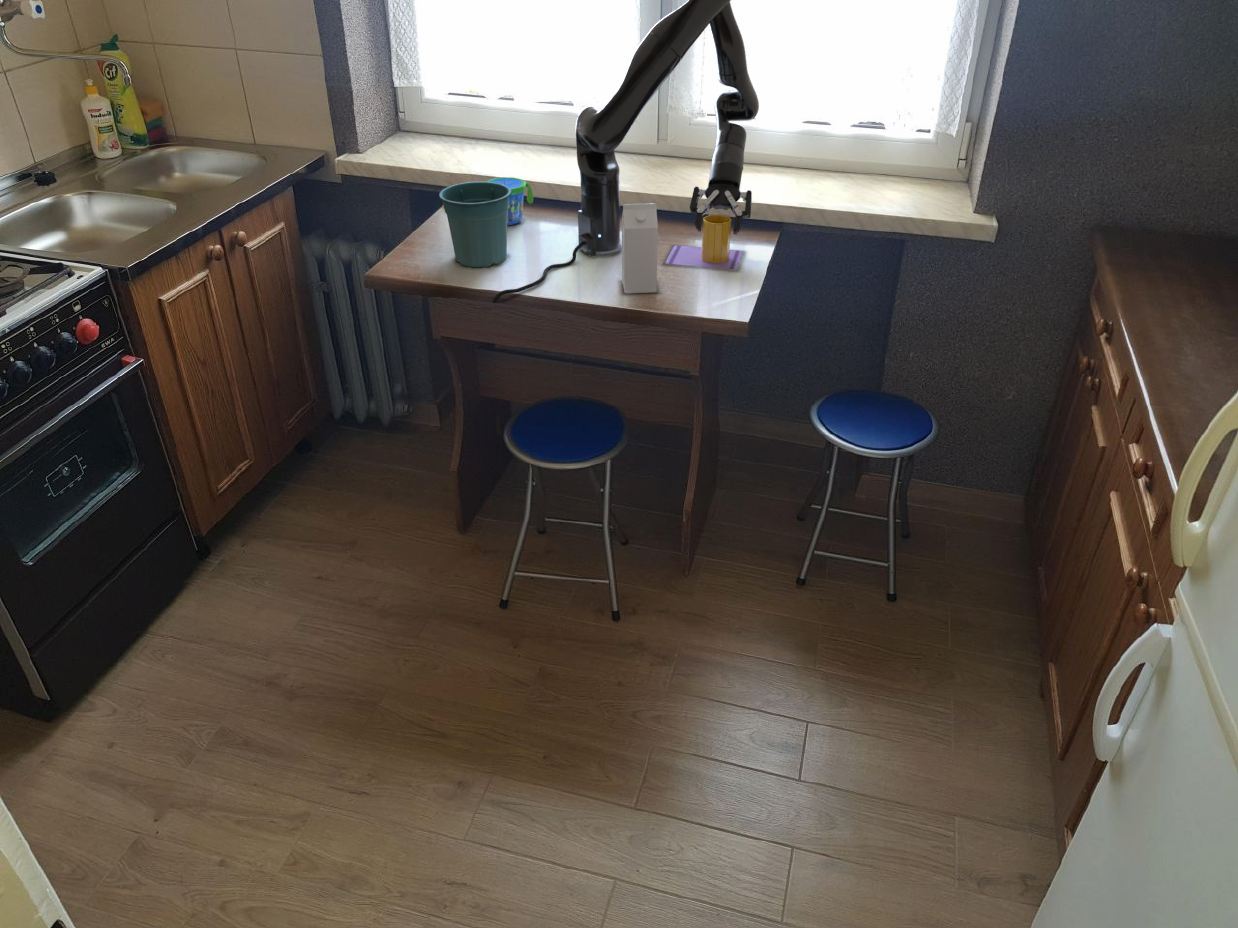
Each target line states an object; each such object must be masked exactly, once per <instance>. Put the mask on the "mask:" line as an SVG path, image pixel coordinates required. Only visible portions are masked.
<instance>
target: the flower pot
mask: <svg viewBox="0 0 1238 928" xmlns="http://www.w3.org/2000/svg"><path fill="white" fill-rule="evenodd" d="M510 193H511V189H510V188H509V187H508V186H506V185H504V184H500V183H495V182H486V181H466V182H460V183H456V184H452V185H450V186H449V185H448V186H447V187H445V188H443V189H442V190H441V191H439V193H438V197H439V199H440V200H441V201H442V204H443V205H442V207H443V209H444V213H445V214H446V217H447V223H448V227H449V233H450V237H451V242H452V245H453V246H452V247H453V252H454V256H455V261H456V262H458V263H460V265H462V266H465V267H469V268H470V267H471V268H484V267H490V266H491V265H493V264H495V265H498V264H500V263H503V262H504V261H505V260H506V259H507V256H508V225H507V210H508V208H509V195H510Z"/></svg>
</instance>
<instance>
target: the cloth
mask: <svg viewBox="0 0 1238 928" xmlns="http://www.w3.org/2000/svg"><path fill="white" fill-rule="evenodd" d="M701 253H702V246H701V247H699V246H689V245H676V244H674V245H673V247H672V249H671V251H670V253H669V255H668V257H667V258H666V260H665V262H664V264H665V265H677V266H686V267H687V266H688V267H698V268H708V269H709V268H710V269H721V270H731V271H732V270H733V271H737V270H738V268H739V265H740V262H741V259H742V256H743V253H744V250H738V249H737V250H736V249H729V259H728V260H727V261H726V262H722V263H710V262H706V261H704V260H702V258H701Z"/></svg>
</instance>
